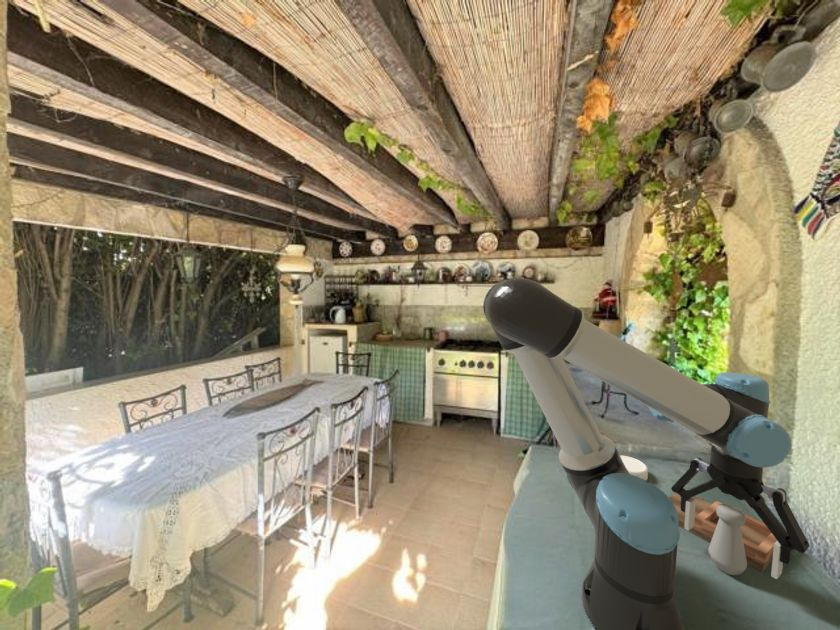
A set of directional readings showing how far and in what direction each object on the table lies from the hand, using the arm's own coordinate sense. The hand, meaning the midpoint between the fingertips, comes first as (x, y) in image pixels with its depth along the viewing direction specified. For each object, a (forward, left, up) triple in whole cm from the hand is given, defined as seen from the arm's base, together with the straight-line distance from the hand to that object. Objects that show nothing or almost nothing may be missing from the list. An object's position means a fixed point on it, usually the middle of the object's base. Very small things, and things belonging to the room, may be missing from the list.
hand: (728, 549), depth 67 cm
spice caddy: (+12, +6, -4) cm, 14 cm away
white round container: (+17, +29, -5) cm, 34 cm away
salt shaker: (0, 0, -4) cm, 4 cm away
